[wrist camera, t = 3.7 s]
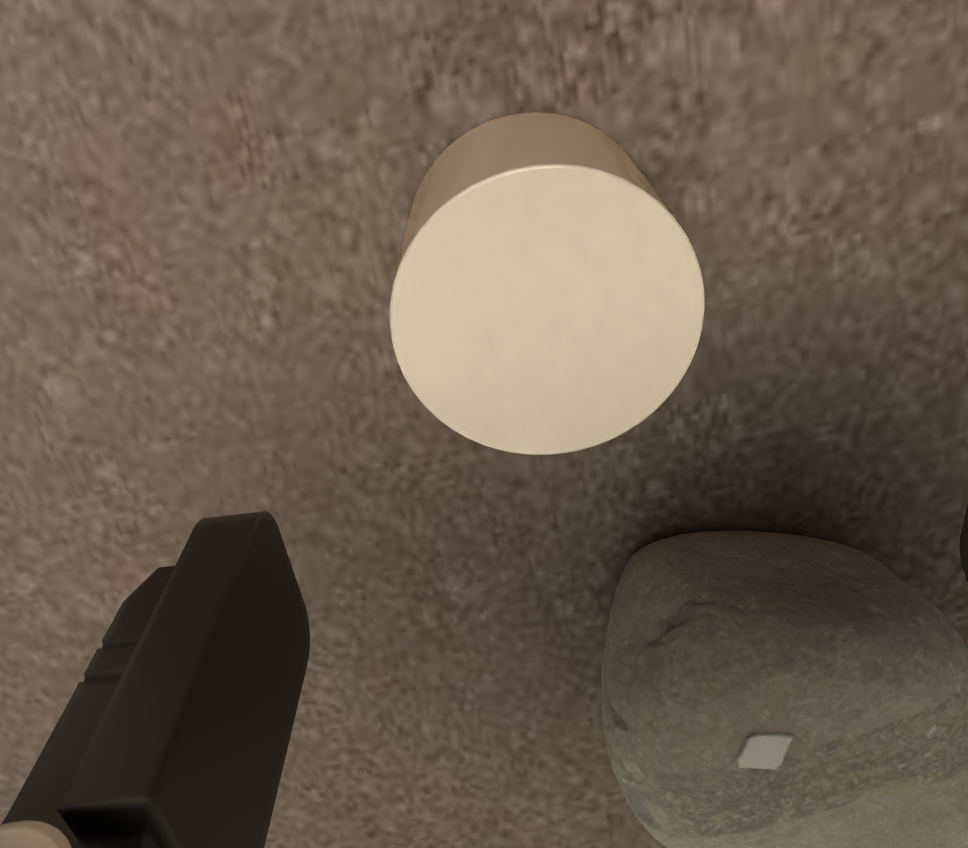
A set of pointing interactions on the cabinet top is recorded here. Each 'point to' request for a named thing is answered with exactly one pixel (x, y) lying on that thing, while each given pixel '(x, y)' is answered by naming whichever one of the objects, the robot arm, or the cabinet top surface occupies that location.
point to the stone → (784, 697)
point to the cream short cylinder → (543, 288)
